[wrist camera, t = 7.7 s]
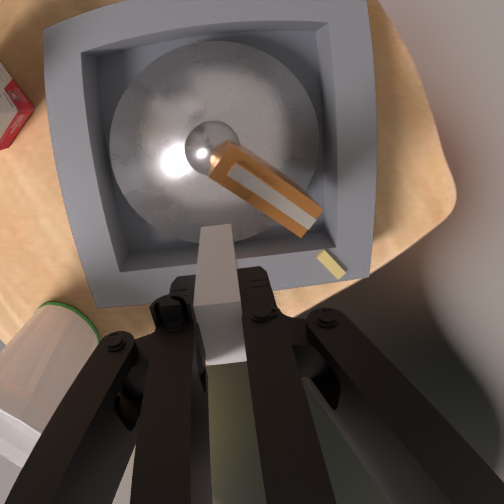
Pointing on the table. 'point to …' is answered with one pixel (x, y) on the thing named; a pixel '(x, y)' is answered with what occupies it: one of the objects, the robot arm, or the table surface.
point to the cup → (40, 374)
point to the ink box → (11, 109)
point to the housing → (184, 33)
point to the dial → (216, 143)
